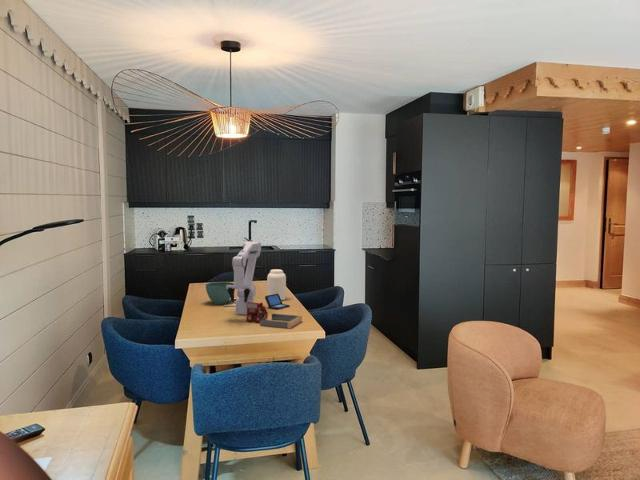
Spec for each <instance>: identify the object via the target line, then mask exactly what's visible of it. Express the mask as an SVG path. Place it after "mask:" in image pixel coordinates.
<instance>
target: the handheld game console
mask: <svg viewBox="0 0 640 480" xmlns="http://www.w3.org/2000/svg"><path fill="white" fill-rule="evenodd" d="M264 299H265V302H266V304H267V307H268V309H270V310H275V311H276V310H277V311H279V310H283V309H286V308H289V307H291V305H290V304H285V303H283V302H282V301H283V300H281V299H280V296H279V294H273V295H268V296H267V295H265V296H264Z"/></svg>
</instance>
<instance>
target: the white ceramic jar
mask: <svg viewBox="0 0 640 480" xmlns="http://www.w3.org/2000/svg"><path fill="white" fill-rule="evenodd" d="M266 279H267V282H266V286H267V288H266V289H267V290H266V291H267V293H266V294H267V295H266V296H268V295H273V294H279V296H280V299H281V301H285V300H286V298H287V296H286V295H287V291H286V290H287V276H286V273H284V270H282V269H277V268H274V269H270V271H269V273H268V274H267V277H266Z"/></svg>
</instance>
